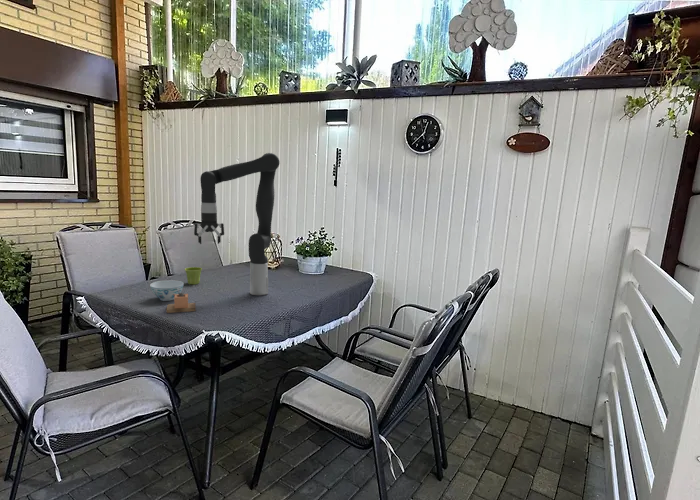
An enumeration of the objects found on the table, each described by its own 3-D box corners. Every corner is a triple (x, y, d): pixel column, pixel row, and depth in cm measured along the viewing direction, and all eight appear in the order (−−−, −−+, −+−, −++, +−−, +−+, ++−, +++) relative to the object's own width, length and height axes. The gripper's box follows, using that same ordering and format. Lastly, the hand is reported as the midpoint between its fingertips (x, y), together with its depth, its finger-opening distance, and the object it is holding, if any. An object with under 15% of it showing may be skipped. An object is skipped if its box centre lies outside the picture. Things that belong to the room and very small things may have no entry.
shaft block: (195, 305, 183) (195, 290, 182) (195, 311, 176) (195, 295, 175) (167, 307, 179) (167, 291, 178) (166, 312, 172) (166, 296, 170)
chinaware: (174, 293, 202) (174, 278, 201) (189, 299, 192) (189, 284, 191) (145, 298, 190) (144, 283, 189) (159, 305, 181) (158, 289, 180)
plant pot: (190, 286, 216) (190, 271, 214) (181, 283, 221) (181, 268, 220) (205, 283, 223) (205, 269, 222) (196, 280, 229) (196, 266, 227)
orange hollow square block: (188, 303, 181) (188, 293, 180) (187, 307, 176) (187, 297, 175) (175, 304, 179) (174, 294, 178) (174, 308, 174) (174, 297, 173)
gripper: (223, 211, 199) (223, 242, 202) (193, 211, 194) (194, 242, 196) (224, 212, 192) (224, 244, 195) (193, 212, 187) (194, 245, 189)
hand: (209, 243), depth 196 cm, fingers open, 8 cm apart
